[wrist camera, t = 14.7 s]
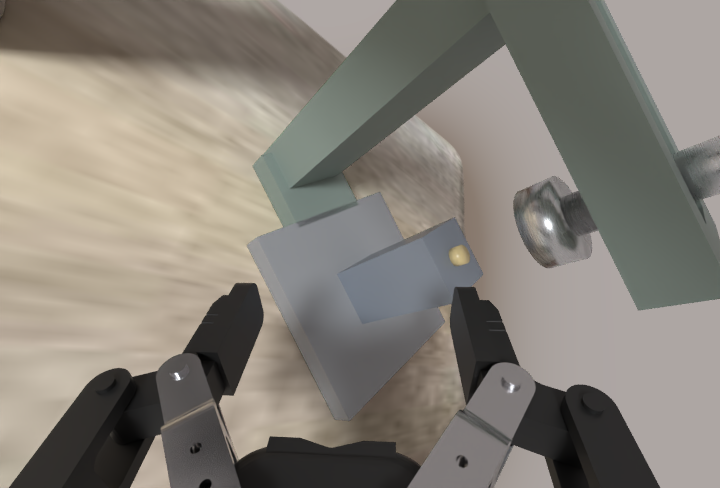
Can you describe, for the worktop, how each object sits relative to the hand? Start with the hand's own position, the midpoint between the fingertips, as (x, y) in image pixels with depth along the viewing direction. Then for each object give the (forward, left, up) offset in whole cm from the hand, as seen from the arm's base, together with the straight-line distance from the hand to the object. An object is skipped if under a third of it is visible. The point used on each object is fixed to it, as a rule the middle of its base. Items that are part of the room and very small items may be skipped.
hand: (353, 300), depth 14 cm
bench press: (-1, +13, -15) cm, 20 cm away
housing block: (+2, +13, -13) cm, 18 cm away
